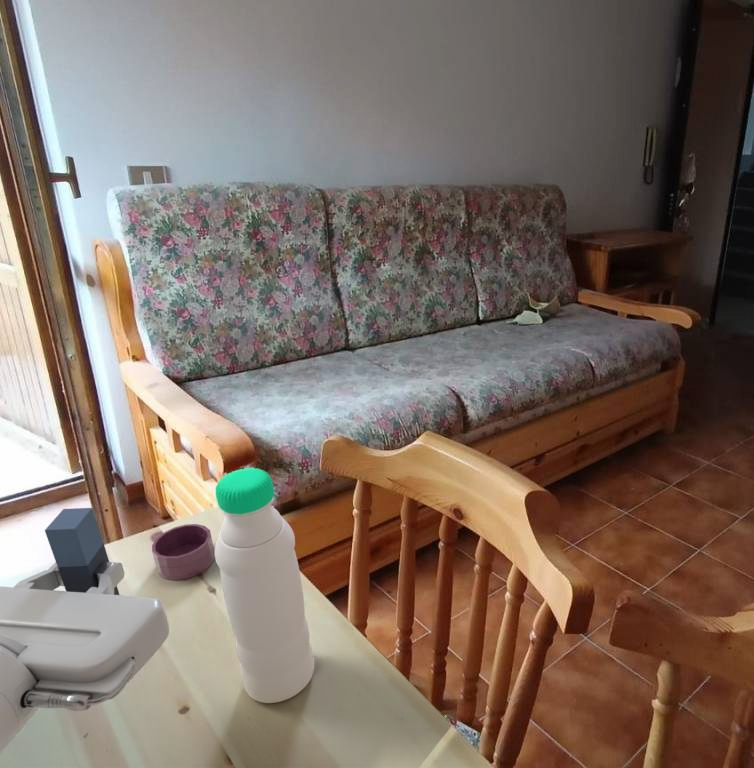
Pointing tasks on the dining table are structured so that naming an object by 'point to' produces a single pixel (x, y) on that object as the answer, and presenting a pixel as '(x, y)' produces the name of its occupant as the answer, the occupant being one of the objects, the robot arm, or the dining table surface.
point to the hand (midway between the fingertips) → (93, 566)
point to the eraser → (77, 548)
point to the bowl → (183, 551)
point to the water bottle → (262, 588)
